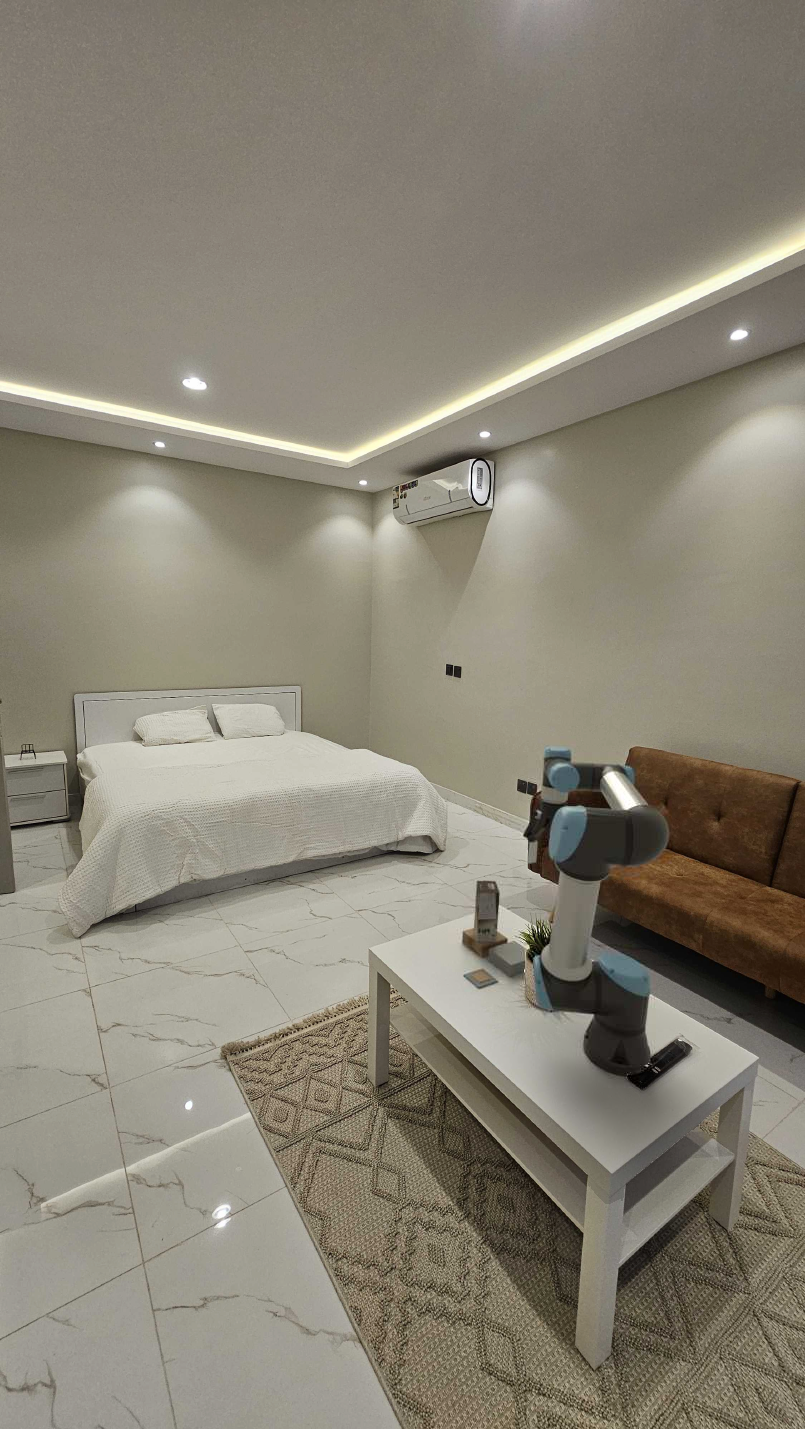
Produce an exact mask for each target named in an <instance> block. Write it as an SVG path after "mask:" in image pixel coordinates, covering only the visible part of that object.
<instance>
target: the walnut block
mask: <svg viewBox="0 0 805 1429" xmlns="http://www.w3.org/2000/svg"><path fill="white" fill-rule="evenodd" d="M461 939H462V940H461V943H462V945H464V946H465V947H466V948H468V949H469V950H470V951H472V952H473V953H474V954H475V955H477V956H478V957H479V958H481V959H483V958H484V959H485V958H486V957H487V958H489V948H492V947H496V946H499V945H502V944H506V943H509V941H508V937H506V936H504V935H503V934H502V933H500V932H499V931H498V930H497V938H496V942H481V941H476V936H475V931H474V927H473V928H470V929H466V930H463V931H462V937H461Z"/></svg>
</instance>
